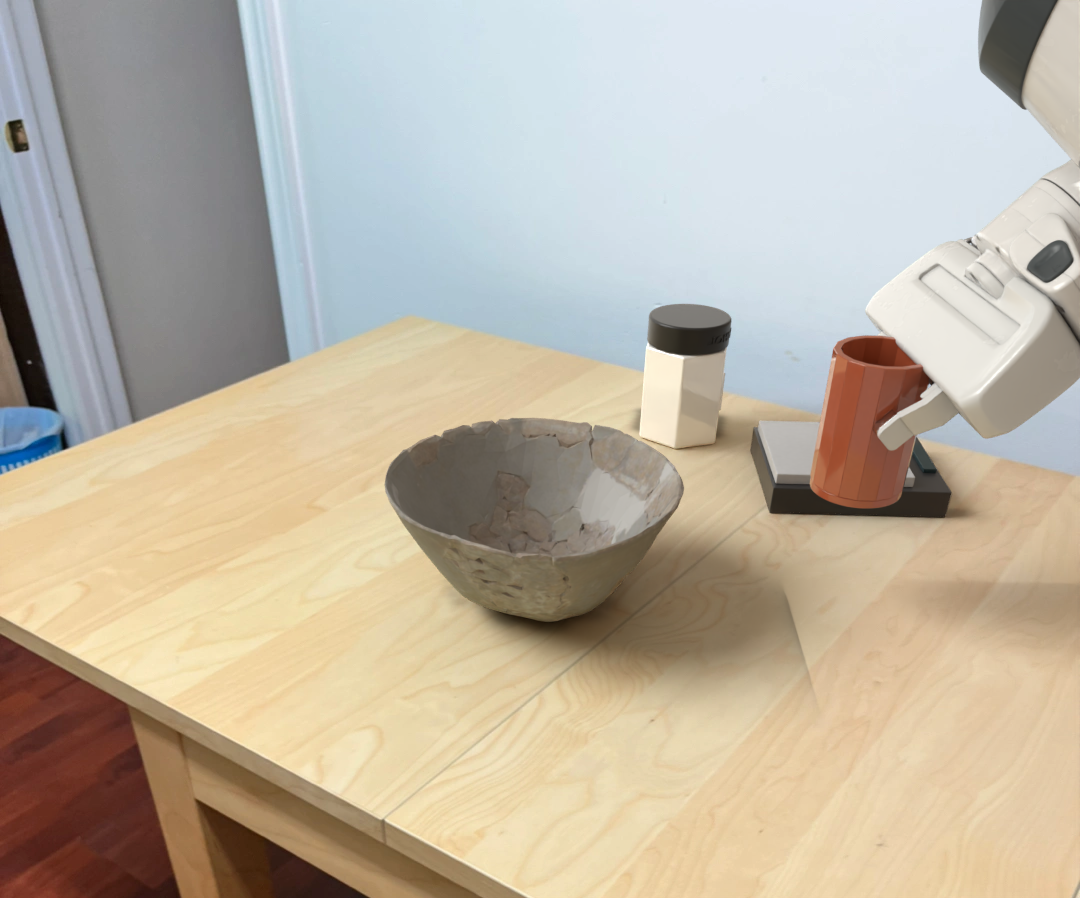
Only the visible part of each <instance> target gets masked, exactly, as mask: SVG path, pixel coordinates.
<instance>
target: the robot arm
mask: <svg viewBox="0 0 1080 898" xmlns="http://www.w3.org/2000/svg"><path fill="white" fill-rule="evenodd" d="M977 29H978V32H977V33H978V34H977V53H978V56H977V57H978V67H979V71H980V73H981V74H982V75H983V76H984V77H986V78H987V79H988V80H989V81H990V82H991V83H993V85H995V86H996V87H997V88H998V89H999V90H1000V91H1002V92H1003V93H1004V94H1005V95H1006V96H1007V97H1008V98H1009V99H1010V100H1012V101H1013V102H1014V103H1015V104H1016V105H1017V106H1018V107H1019V108H1020V109H1022V110H1025V111H1028V113H1030V115H1031V116H1032V117H1033V118H1034V119H1035V121H1037V123H1038V124H1039V125H1040V126H1041V127H1042V128H1043V130H1044V131H1046V133H1047V134H1048V135H1049V136H1050V137H1051V138H1052V139H1053V140H1054V142H1055V143H1056V144H1057V145H1058V146H1059V147H1060V148H1061V150H1063V152H1064V154H1066V155H1067V156H1068V157H1069V160H1068V161H1067V162H1065V163H1063V164H1062V165H1060V166H1058V167H1056V168H1054V169H1052V170H1050V171H1048V172H1047V173H1045V174H1043V175H1042V176H1041V177H1040V178H1038V180H1037V181H1035V182H1034V183H1033V184H1032V185H1031V186H1030V187H1028V188H1027V189H1026V190H1025V191H1024V192H1023V193H1021V194H1020V195H1019V196H1018V197H1017V198H1016V199H1015V200H1014V201H1012V202H1011V203H1010V204H1009V205H1008V206H1007V207H1005V208H1004V209H1003V210H1002V211H1001V212H1000V213H999V214H997V215H996V216H995V217H994V218H993V219H992V220H990V222H988V223H987V224H986V225H985V226H984V227H983V228H982V229H980V230H979V231H978V232H977V233H975V234H974V235H972V236H970V237H967V238H964V239H963V238H961V239H957V240H950V241H949V240H948V241H946V242H943V243H941V244H938V245H937V246H935V247H934V248H932V249H930V250H929V251H928V252H927V251H926V253H924V254H923V255H921V256H920V257H919V258H918V259H916V260H915V261H913V262H912V263H911V264H910V265H908V266H907V267H906V268H904V270H902V271H900V273H898V274H897V275H895V276H894V277H893V278H892V279H891V280H890V281H889V282H887V283H886V284H885V285H883V286H882V287H881V288H880V289H879V290H878V291H876V292H875V294H873V295H872V297H871V298H870V300H869V301H868V303H867V304H866V307H865V309H864V311H865V312H864V313H865V315H866V316H867V317H868V319H869V320H870V322H871V323H872V325H873V326H874V327H875V329H876V330H877V331H878V332H879V333H877V335H876V336H889V337H894V338H895V339H896V344H897V345H898V347H899V348H900V349H901V350H902V351H903V352H904V353H905V354H906V355H907V356H908V357H909V358H910V359H911V360H912V361H913V362H914V363H915V364H916V365H918V364H921V365H922V366H923V371H924V373H925V374H926V375H927V376H928V377H929V378H930V383H929V387H928V389H927V390H926V391H924V392H923V393H922V394H921V395H920V397H921V398H922V400H920V401H918V402H917V403H915V404H913V405H911V406H909V407H907V408H905V409H903V410H901V411H899V412H898V413H897V414H896V413H895V412H894V411H893V410H891V411H889V412H888V413H887V414H886V415H884V416H883V418H882V419H881V420H878V421H877V422H876V423H875V424H874V426H873V431H874V432H875V434H876V435H877V437H878V438H879V439H880V440H881V442H882V443H883V444H884V445H885V446H886V448H887V449H888V450H892V451H893V450H896V449H897V448H898V447H900V446H901V445H902V444H903V443H905V442H906V441H907V440H908V439H910V438H911V437H912V436H913V435H914V436H915V435H917V436H918V435H920V434H924V433H926V432H929V431H932V430H934V429H938V428H940V427H943V426H945V425H946V424H947V423H948V422H950V421H951V420H952V419H954V417H956V416H957V415H959V416H961V417H962V418H963V420H964V421H965V422H966V423H968V425H969V426H970V427H971V428H972V429H974V431H975V432H976V433H977V434H978V435H979V436H980V437H981V438H983V439H985V440H988V439H992V438H996V437H1000V436H1003V435H1006V434H1009V433H1011V432H1012V431H1015V430H1016V429H1018V428H1019V427H1021V426H1022V425H1023V424H1024V423H1025V422H1027V421H1029V420H1031V418H1033V417H1034V416H1035V415H1037V414H1038V413H1039V412H1041V411H1042V410H1044V409H1045V408H1046V407H1048V406H1049V405H1050V404H1051V403H1052V402H1054V401H1056V399H1057V398H1059V397H1060V396H1061V395H1063V394H1064V393H1065V392H1066V391H1067V390H1068V389H1070V388H1071V387H1072V386H1074V384H1075V383H1076V382H1078V380H1080V0H981V6H980V10H979V19H978V28H977Z"/></svg>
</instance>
